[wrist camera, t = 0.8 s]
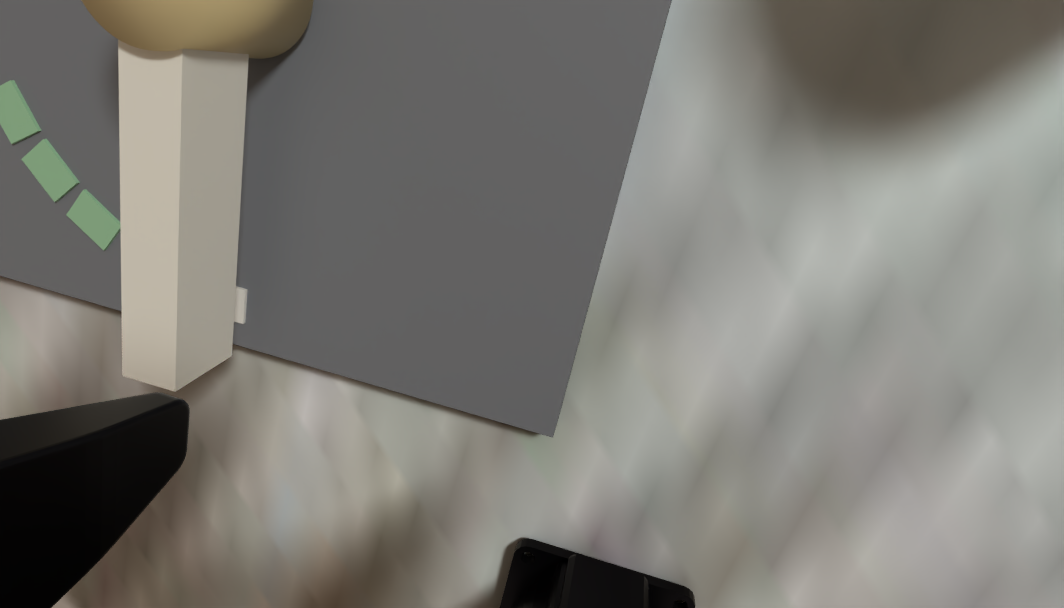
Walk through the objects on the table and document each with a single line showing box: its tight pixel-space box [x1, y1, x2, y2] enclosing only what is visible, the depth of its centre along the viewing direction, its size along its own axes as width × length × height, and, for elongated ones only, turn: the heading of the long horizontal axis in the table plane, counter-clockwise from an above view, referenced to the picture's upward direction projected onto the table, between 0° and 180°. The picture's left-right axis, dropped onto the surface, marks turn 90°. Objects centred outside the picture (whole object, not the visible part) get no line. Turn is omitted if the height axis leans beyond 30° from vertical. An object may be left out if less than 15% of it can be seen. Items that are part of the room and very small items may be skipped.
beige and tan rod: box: [81, 0, 313, 392], centre depth 17 cm, size 12×4×4 cm, turn 167°
